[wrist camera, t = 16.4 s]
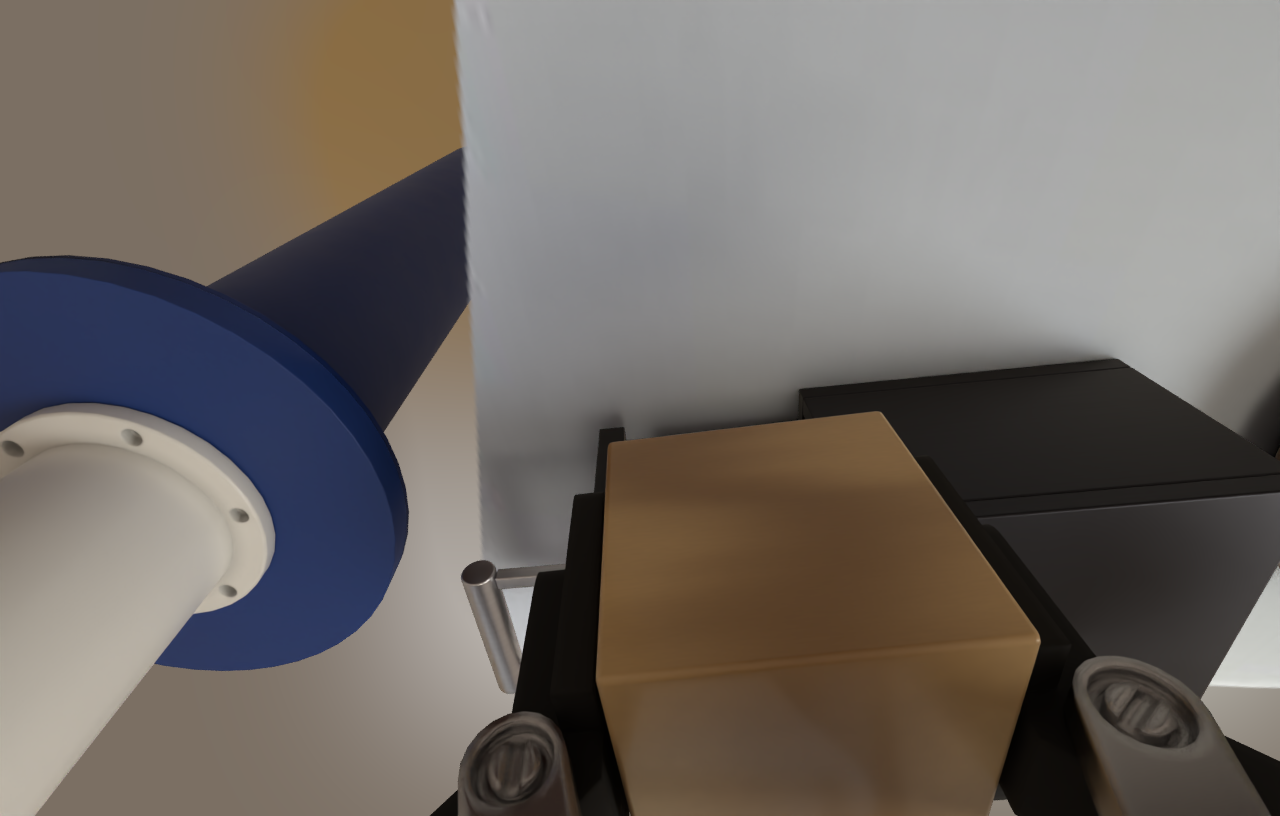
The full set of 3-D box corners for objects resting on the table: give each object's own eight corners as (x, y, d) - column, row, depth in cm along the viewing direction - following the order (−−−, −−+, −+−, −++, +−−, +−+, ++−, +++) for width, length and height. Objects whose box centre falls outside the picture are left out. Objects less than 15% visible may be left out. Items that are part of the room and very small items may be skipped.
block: (640, 624, 13) (647, 887, 9) (606, 440, 10) (593, 683, 6) (865, 602, 12) (977, 861, 8) (881, 408, 10) (1048, 638, 6)
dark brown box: (792, 581, 35) (842, 746, 27) (798, 388, 29) (866, 527, 21) (1053, 559, 35) (1188, 722, 26) (1118, 358, 28) (1325, 487, 20)
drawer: (529, 608, 35) (503, 742, 28) (481, 440, 29) (435, 558, 22) (868, 580, 34) (927, 711, 27) (889, 401, 28) (970, 511, 21)
